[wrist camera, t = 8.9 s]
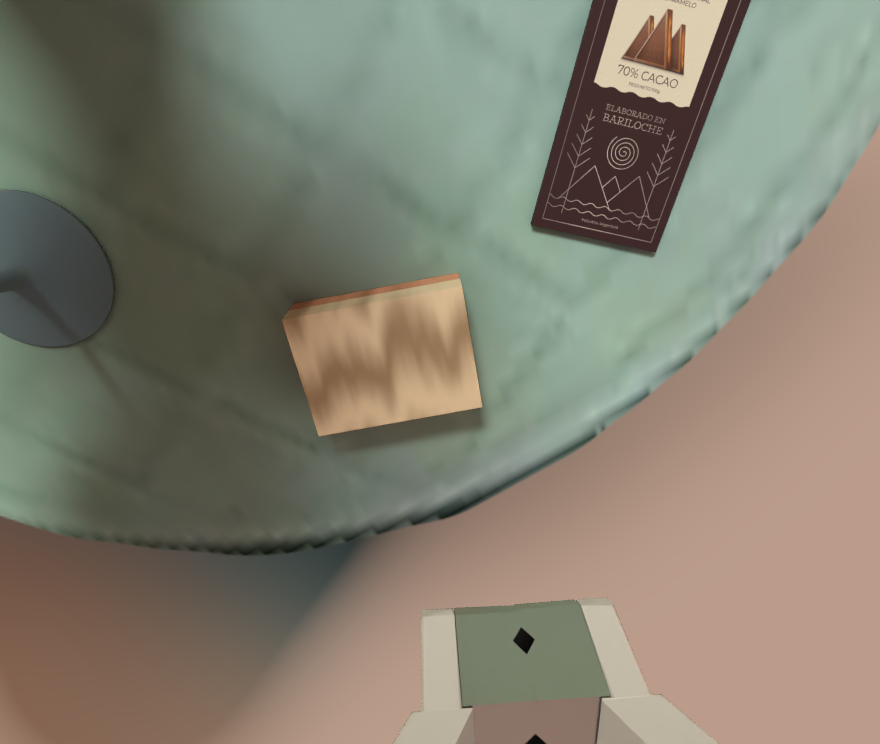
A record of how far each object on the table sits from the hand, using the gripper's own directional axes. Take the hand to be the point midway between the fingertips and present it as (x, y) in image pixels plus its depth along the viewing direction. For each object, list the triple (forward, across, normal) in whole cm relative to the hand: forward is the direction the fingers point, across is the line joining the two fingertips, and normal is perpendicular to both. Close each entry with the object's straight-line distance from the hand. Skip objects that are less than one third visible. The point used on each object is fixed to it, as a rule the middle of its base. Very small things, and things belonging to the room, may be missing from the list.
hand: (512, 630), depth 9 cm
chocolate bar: (+32, -13, -9) cm, 35 cm away
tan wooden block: (+30, -2, +6) cm, 30 cm away
